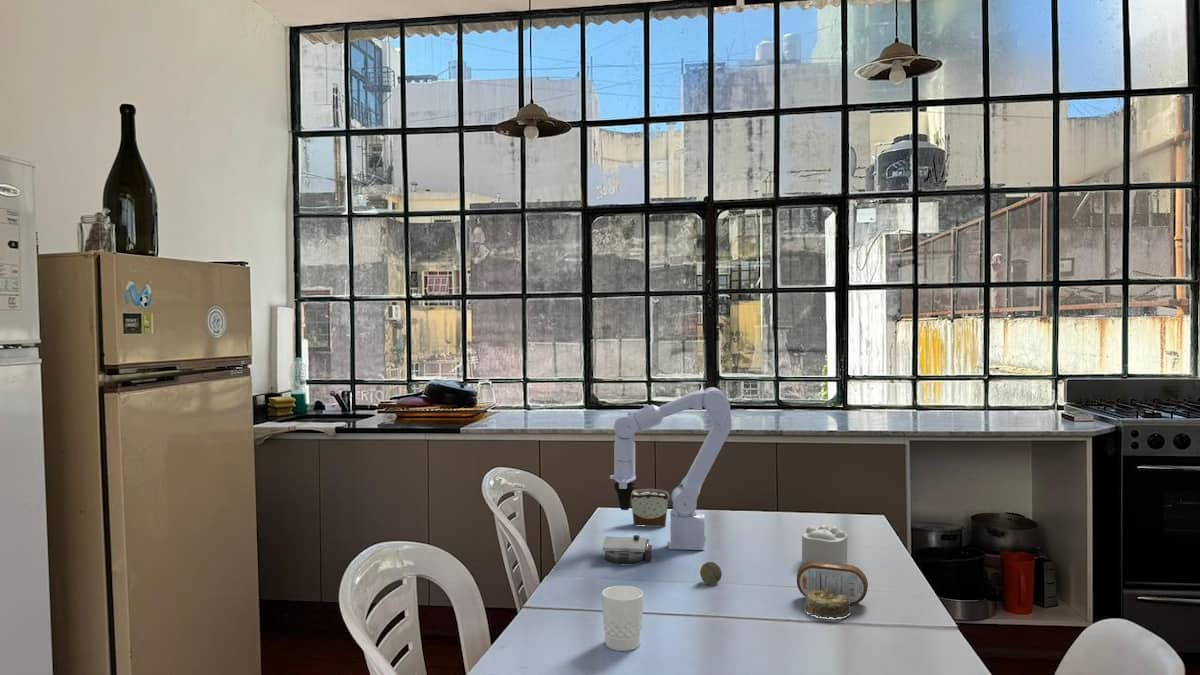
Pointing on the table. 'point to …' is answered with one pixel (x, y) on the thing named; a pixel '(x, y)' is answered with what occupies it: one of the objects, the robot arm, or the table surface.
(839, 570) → the tin
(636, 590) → the white cup
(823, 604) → the cake
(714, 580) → the lime
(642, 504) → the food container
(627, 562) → the pot
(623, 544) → the lid
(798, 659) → the table surface
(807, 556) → the lumpy-topped squat cylinder
